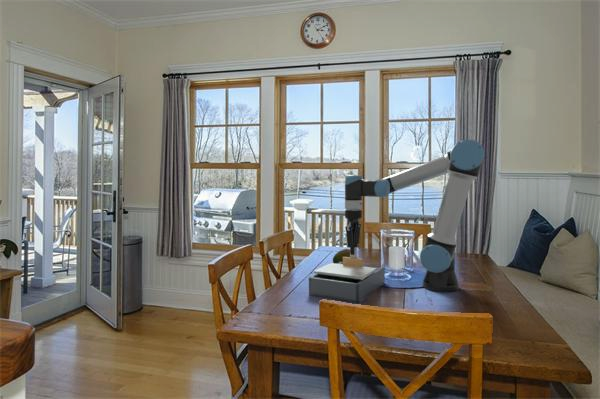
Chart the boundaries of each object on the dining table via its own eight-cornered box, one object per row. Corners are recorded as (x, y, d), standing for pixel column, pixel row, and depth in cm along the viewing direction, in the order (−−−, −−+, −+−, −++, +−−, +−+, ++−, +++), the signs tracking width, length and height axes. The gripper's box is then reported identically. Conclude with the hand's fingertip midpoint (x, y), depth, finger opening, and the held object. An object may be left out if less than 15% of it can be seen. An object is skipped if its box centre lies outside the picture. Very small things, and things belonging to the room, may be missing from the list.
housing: (384, 282, 182) (384, 266, 181) (358, 303, 153) (358, 284, 153) (341, 276, 193) (340, 261, 192) (308, 295, 164) (308, 277, 163)
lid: (376, 270, 171) (376, 260, 171) (362, 279, 156) (362, 268, 156) (330, 265, 182) (330, 255, 182) (313, 273, 167) (313, 262, 167)
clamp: (341, 304, 162) (343, 287, 158) (328, 299, 164) (329, 282, 160) (351, 286, 171) (353, 270, 167) (338, 281, 174) (340, 266, 169)
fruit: (360, 268, 208) (360, 250, 208) (339, 271, 204) (339, 252, 203) (349, 264, 219) (349, 246, 219) (329, 266, 215) (329, 248, 214)
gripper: (355, 211, 168) (355, 265, 170) (366, 208, 179) (366, 259, 181) (339, 210, 172) (339, 263, 173) (351, 208, 183) (351, 257, 185)
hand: (353, 261), depth 177 cm, fingers closed
